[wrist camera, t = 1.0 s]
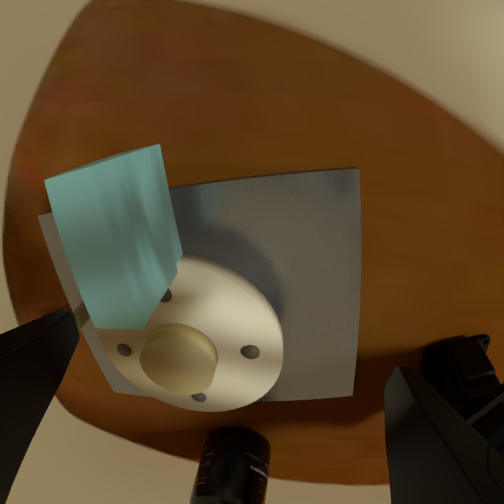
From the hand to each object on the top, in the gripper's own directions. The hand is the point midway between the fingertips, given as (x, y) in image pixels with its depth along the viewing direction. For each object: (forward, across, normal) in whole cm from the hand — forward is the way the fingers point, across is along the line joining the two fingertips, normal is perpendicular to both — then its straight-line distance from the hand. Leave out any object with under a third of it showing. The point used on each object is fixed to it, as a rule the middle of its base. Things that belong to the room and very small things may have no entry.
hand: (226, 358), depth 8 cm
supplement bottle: (+12, -1, +24) cm, 27 cm away
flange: (+9, +4, +5) cm, 11 cm away
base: (+12, +4, +8) cm, 15 cm away
